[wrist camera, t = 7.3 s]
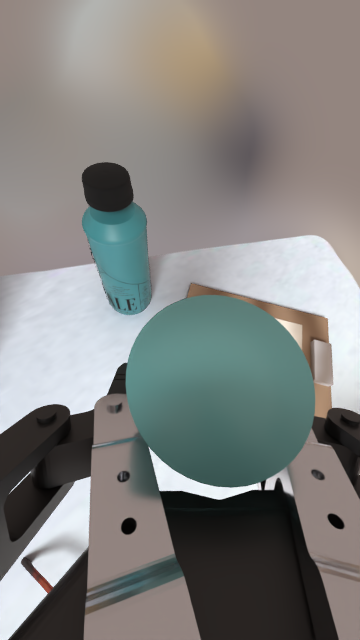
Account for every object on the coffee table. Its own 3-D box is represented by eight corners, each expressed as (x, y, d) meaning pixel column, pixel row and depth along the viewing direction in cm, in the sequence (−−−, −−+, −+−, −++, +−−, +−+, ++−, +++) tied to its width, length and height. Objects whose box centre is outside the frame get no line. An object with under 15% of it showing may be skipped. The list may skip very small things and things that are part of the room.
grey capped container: (139, 448, 15) (91, 449, 4) (159, 384, 17) (159, 278, 6) (204, 469, 15) (317, 519, 4) (217, 400, 17) (314, 318, 6)
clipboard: (162, 379, 32) (162, 376, 30) (190, 286, 39) (191, 279, 38) (328, 427, 30) (337, 426, 29) (324, 320, 38) (331, 315, 36)
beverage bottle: (148, 283, 39) (138, 147, 21) (156, 318, 36) (152, 193, 18) (107, 289, 38) (62, 151, 20) (112, 325, 35) (63, 201, 17)
